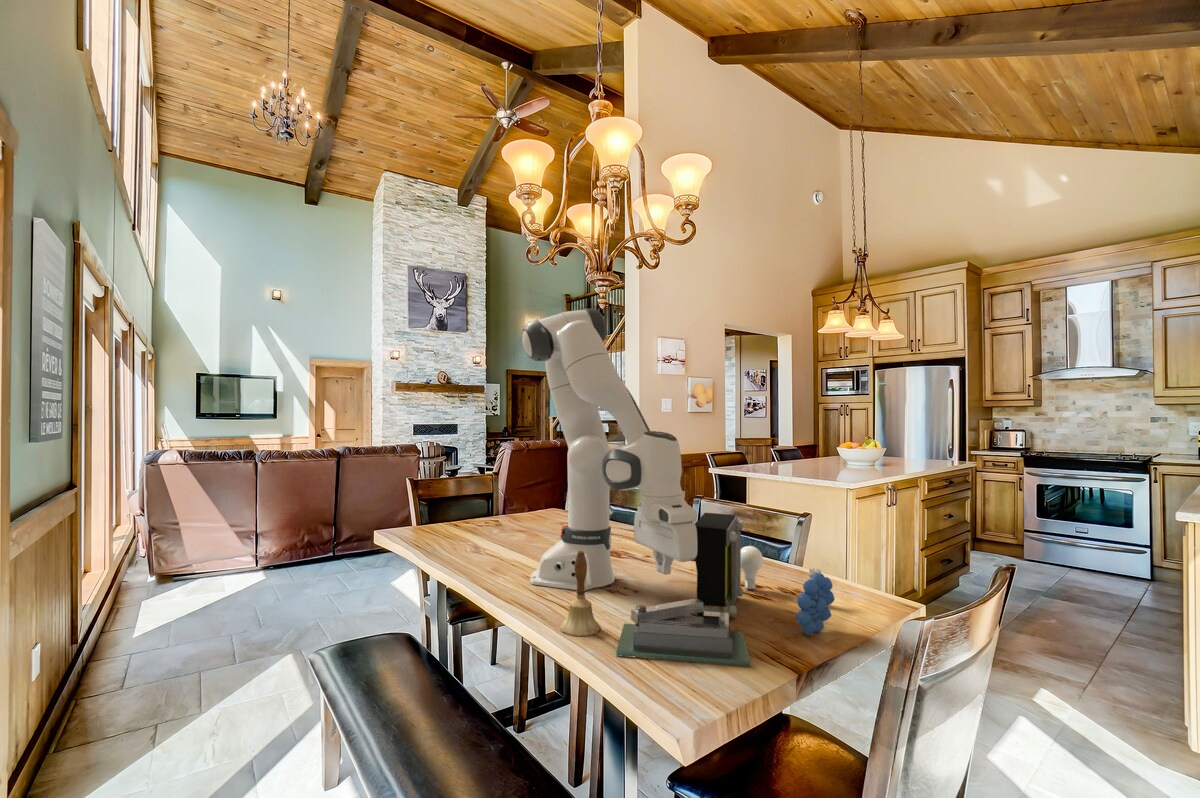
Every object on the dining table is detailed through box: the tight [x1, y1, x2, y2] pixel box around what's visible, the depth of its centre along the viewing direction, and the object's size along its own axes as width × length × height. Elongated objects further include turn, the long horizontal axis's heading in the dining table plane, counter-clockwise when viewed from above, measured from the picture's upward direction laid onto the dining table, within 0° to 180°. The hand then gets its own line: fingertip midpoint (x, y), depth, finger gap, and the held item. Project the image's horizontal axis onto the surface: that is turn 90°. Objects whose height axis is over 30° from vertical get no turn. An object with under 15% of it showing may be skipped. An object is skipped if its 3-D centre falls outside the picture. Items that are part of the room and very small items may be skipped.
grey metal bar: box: [630, 597, 703, 624], centre depth 109 cm, size 16×2×3 cm, turn 116°
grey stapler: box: [615, 605, 751, 668], centre depth 105 cm, size 24×13×8 cm, turn 81°
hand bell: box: [559, 551, 601, 637], centre depth 113 cm, size 8×8×16 cm
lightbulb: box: [741, 545, 764, 591], centre depth 139 cm, size 6×6×11 cm
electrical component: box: [691, 512, 744, 618], centre depth 127 cm, size 18×10×20 cm, turn 160°
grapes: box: [795, 573, 836, 636], centre depth 113 cm, size 12×7×12 cm, turn 127°
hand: (663, 572), depth 116 cm, fingers closed
